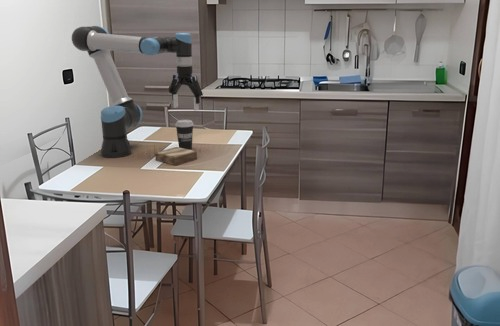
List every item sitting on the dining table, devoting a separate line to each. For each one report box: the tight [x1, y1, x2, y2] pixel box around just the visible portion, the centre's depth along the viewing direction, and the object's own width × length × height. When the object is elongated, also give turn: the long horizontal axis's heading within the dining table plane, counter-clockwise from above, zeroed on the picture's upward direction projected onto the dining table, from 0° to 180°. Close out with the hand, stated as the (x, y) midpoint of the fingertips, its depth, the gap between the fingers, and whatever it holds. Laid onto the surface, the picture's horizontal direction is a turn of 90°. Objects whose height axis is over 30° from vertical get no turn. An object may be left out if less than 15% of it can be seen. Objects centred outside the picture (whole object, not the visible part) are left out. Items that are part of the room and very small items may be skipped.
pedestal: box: [154, 146, 198, 166], centre depth 236 cm, size 14×14×4 cm
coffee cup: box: [174, 119, 195, 150], centre depth 252 cm, size 10×10×15 cm
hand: (186, 108), depth 244 cm, fingers open, 13 cm apart
